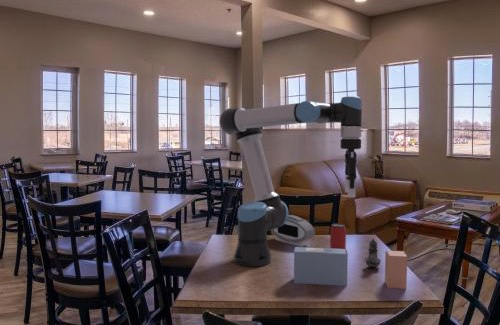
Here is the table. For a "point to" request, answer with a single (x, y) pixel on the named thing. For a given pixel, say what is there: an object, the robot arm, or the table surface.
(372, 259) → the dark rounded upright piece
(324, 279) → the gray rectangular box
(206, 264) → the table surface
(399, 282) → the stub
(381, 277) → the table surface
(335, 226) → the beer can
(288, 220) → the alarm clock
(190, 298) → the table surface
